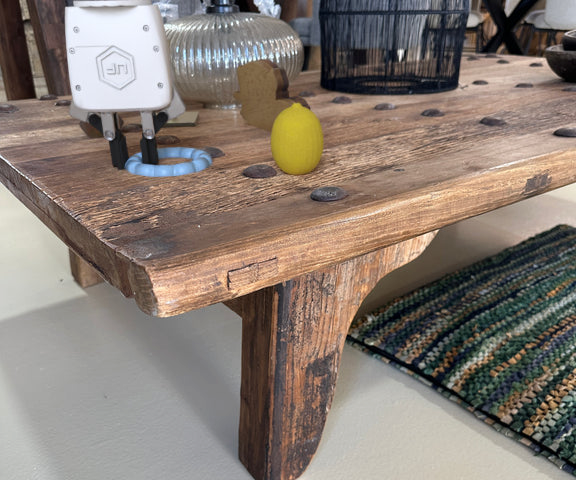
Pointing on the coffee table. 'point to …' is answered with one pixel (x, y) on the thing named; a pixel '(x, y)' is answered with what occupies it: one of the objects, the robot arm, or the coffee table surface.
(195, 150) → the ring
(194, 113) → the post
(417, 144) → the coffee table surface
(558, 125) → the coffee table surface
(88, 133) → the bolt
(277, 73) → the wooden carving
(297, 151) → the lemon
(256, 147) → the coffee table surface
